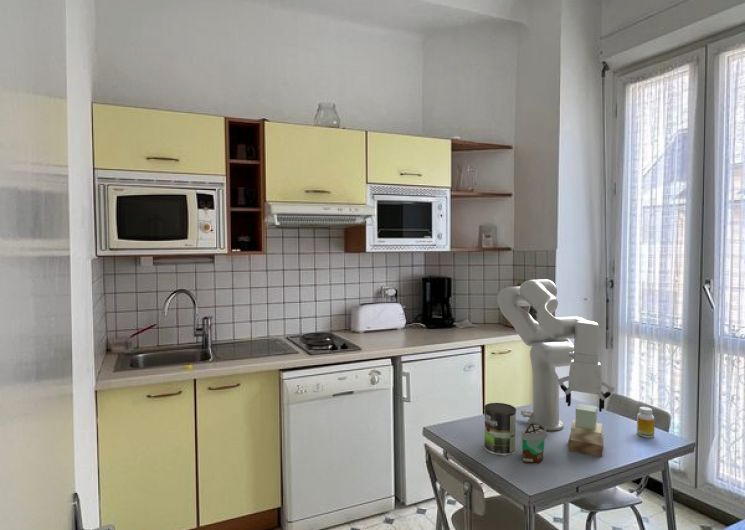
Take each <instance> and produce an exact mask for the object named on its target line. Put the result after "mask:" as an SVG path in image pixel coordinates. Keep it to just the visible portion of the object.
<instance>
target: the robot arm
mask: <svg viewBox="0 0 745 530" xmlns="http://www.w3.org/2000/svg"><path fill="white" fill-rule="evenodd" d="M557 295H558V288H557V285H556V284H555V282H553V281H552V280H550V279H529V280H526V281H524V282H522V283H521V284H520V285H519V286H507V287H504V288H502V289H501V290H500V291H499V292H498V294H497V304H498V308H499V309H500V312H501V314H502V315H503V316H504V317H505V319H506V320H507V321H508V322H509V323H510V324H511V325H512V326H513V328H514V330H515V331H516V333H517V334H518V336H519V338H520V339H521V340H522V342H523V343H524V345H526V346H528V347H530V351H529V355H530V356H529V358H530V364H531V369H532V370H531V371H532V372H531V373H532V410H526V409H521V410H520V415H521V416H522V417H525V418H528V421H527V422H528V425H530V424H531V421H533V422H537V423H539V424H541V425H543V426H544V427H545V429H546V431H560V430H562V429H563V428H564V422H563V420H560V389H561V390H562V392H564V394H565V403H566V404H567V407H571V404H572V391H573V392H578V393H585V394H591V395H597V396H598V397H599V399H598V401H599V403H598V411H599V412H602V410H604V409H605V400H606V399H607V398H609V397H610V396H611V395H612V393H613V392H614V391H615V387H614V386H613V385H611V384H610V383H608V382H606V381H605V380H603V370H602V364H601V362H599V358H600V357H599V352H600V350H599V349H600V325H599V323H598V322H596V321H593V320H587V319H586V318H583V317H581V316H563V317H562V316H561V317H560V316H559V317H555V315H553V313H554V312H555V311H556V310H557V309H558V306H559V299H558V298H557ZM522 307H532V309H534V310H535V311H536V320H535V319H534V318H533V316H532V315H531V313H529V312H528V311H527V310H525V309H524V308H522ZM570 339H573V340H574V341H573V342H572V341H571V340H570ZM573 343H574V344H573ZM568 366H569V371H568V375H567V376H563V377H561V378H559V375H558V374H557V372H556V371H555V368H561V367H562V368H563V367H568ZM567 381H568V383H567V384H568V385H567V386H568V387H567V386H566V385H565V384H564V382H567ZM603 387H605V388H606V389H608V390H607V391H606V392H603V391H602V390H603Z"/></svg>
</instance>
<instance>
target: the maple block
mask: <svg viewBox="0 0 745 530" xmlns="http://www.w3.org/2000/svg"><path fill="white" fill-rule="evenodd" d="M575 425H576V418H575V419H574V418H573V420H572V423H571V427H570V433H571V440H574V441H580V442H586V443H591V444H597V445H601V441H602V435H603V423H601V422H597V426H596V429H595V430H592V429H586V428H581V427H575Z"/></svg>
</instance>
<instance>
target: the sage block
mask: <svg viewBox="0 0 745 530" xmlns="http://www.w3.org/2000/svg"><path fill="white" fill-rule="evenodd" d="M575 420H576V425H575V427H581V428H586V429H592V430H595V429H596V426H597V423H598V406H595V405H588V404H582V403H577V405H576V406H575Z"/></svg>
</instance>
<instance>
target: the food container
mask: <svg viewBox="0 0 745 530" xmlns="http://www.w3.org/2000/svg"><path fill="white" fill-rule="evenodd" d="M547 437H548V433H547V430H546V429H545V427H544V426H543V425H541V424H539V423H537V422H533V421H531V424H529V426H527V428H526V429H525V431H524V432H521V440H522V441H521V443H522V463H523V464H528V465H536V464H540V463H542V462H543V461H544V449H545V439H546V438H547Z"/></svg>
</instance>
